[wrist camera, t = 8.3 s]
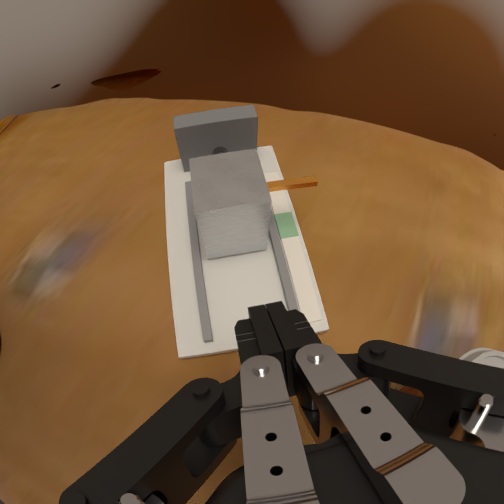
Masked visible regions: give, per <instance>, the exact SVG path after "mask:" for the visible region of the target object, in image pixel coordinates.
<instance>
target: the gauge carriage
mask: <svg viewBox="0 0 504 504" xmlns="http://www.w3.org/2000/svg"><path fill="white" fill-rule="evenodd" d="M212 153H213V155H208V156H202V157H196V158H190V159H189V165H190V176H191V187H192V197H193V207H194V214H195V218H196V222H197V225H198V229H199V232H200V236H201V240H202V243H203V247H204V250H205V253H206V257H207V259H213V258H219V257H225V256H230V255H236V254H242V253H248V252H254V251H260V250H266V249H267V244H268V234H269V224H270V214H271V203H272V200H271V196H270V193H269V192H273V191H280V190H288V189H295V188H303V187H311V186H317V183H318V181H317V178H316V176H310V177H302V178H293V179H285V180H277V181H270V182H266V179H265V176H264V173H263V169H262V166H261V163H260V159H259V156H258V153H257V150H256V149H249V150H241V151H234V152H227V150H226V148H225V147H216V148H215V149H214V150H213V152H212Z"/></svg>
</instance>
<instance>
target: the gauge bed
mask: <svg viewBox="0 0 504 504" xmlns="http://www.w3.org/2000/svg"><path fill="white" fill-rule="evenodd" d="M257 128H258V116H257V113H256V111H255V108H254V105H248V106H239V107H231V108H223V109H216V110H209V111H203V112H196V113H191V114H185V115H179V116H174V132H175V136H176V140H177V145H178V149H179V153H180V157H181V159H178V160H173V161H168V162H164V166H165V210H166V232H167V248H168V263H169V275H170V287H171V298H172V307H173V317H174V325H175V333H176V341H177V349H178V356H179V358H181V359H186V358H193V357H200V356H207V355H213V354H220V353H226V352H232V351H237V350H238V346H237V340H236V335H235V330H234V327H235V325H236V323H237V321H238V320H243V319H249V315H248V307H252V306H257V305H263V304H264V305H265V304H267V303H273V302H278V301H282V302H283V304H284V306H285V308H286V310H287V311H289V310H294V309H296V310H298V311H300V312H301V313H303V314H304V315H305V317H306V318H307V320H308V322H309V323H310V325H311V327H312V328H313V330H314V331H315V333H316V334H319V333H323V332H327V331H328V330H329V326H328V323H327V319H326V315H325V312H324V308H323V304H322V301H321V297H320V294H319V290H318V287H317V283H316V280H315V277H314V273H313V270H312V266H311V263H310V260H309V256H308V253H307V250H306V247H305V243H304V240H303V237H302V234H301V231H300V228H299V224H298V221H297V218H296V215H295V212H294V209H293V206H292V203H291V200H290V197H289V194H288V191H287V190H280V191H273V192H269V193H270V196H271V200H272V203H271V214H270V224H269V234H268V244H267V249H266V250H260V251H254V252H248V253H242V254H236V255H230V256H225V257H219V258H213V259H207V257H206V253H205V250H204V247H203V243H202V240H201V236H200V232H199V229H198V225H197V222H196V218H195V214H194V207H193V197H192V187H191V176H190V165H189V159H190V158H196V157H202V156H208V155H213V153H212V152H213V150H214V149H215V148H216V147H225V148H226V150H227V152H234V151H241V150H249V149H256V150H257V153H258V156H259V159H260V163H261V166H262V169H263V173H264V176H265V179H266V182H270V181H277V180H284V179H283V176H282V173H281V170H280V168H279V165H278V162H277V159H276V156H275V153H274V151H273V148H272V146H264V147H257Z"/></svg>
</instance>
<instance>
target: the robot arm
mask: <svg viewBox="0 0 504 504" xmlns="http://www.w3.org/2000/svg"><path fill="white" fill-rule="evenodd" d="M248 315H249V319H243V320H238V321H237V323H236V325H235V327H234V330H235V335H236V340H237V346H238V351H239V356H240V361H241V367H240V371H239V373H238V374H237V375H236V376H235V377H234V378H232V379H230V380H228V381H226V382H224V383H221V384H220V383H219V382H218V381H216V380H214V379H211V378H199V379H195V380H193V381H191V382H189V383H187V384H186V385H185V386H184V387H183V388H182V389H181V390H180V391H179V392H177V393H176V394H175V395H174V396H173V397H172V398H171V399H170V400H169V401H168V402H167V403H166V404H165V405H163V406H162V407H161V408H160V409H159V410H158V411H157V412H156V413H155V414H154V415H153V416H151V417H150V418H149V419H148V420H147V421H146V422H145V423H144V424H143V425H141V426H140V427H139V428H138V429H137V430H136V431H135V432H134V433H132V434H131V435H130V436H129V437H128V438H127V439H126V440H124V441H123V442H122V443H121V444H120V445H119V446H117V447H116V448H115V449H114V450H113V451H112V452H111V453H109V454H108V455H107V456H106V457H105V458H103V459H102V460H101V461H100V462H99V463H97V464H96V465H95V466H94V467H93V468H91V469H90V470H89V471H88V472H87V473H85V474H84V475H83V476H82V477H80V478H79V479H78V480H77V481H76V482H74V483H73V484H72V485H71V486H69V487H68V488H67V489H66V490H65V491H64V492H63V493H62V495H61V496H60V499H59V504H186V503H187V501H188V500H189V499H190V498H191V497H192V496H193V495H194V494H195V493H196V491H197V490H198V489H199V488H200V487H201V486H202V485H203V483H204V482H205V481H206V480H207V479H208V478H209V476H210V475H211V474H212V473H213V472H214V470H215V469H216V468H217V467H218V466H219V464H220V463H221V462H222V461H223V459H224V458H225V457H226V456H227V454H228V453H229V452H230V451H231V449H232V448H233V447H234V445H235V444H236V441H237V439H238V438H240V437H242V443H243V457H244V465H243V466H241V467H240V468H238V469H236V470H235V471H233V472H232V473H231V474H230V475H228V476H227V477H226V478H225V479H224V480H223V481H222V482H221V484H220V485H219V486H218V487H217V489H216V490H215V491H214V493H213V494H212V495H211V497H210V498H209V499H208V500H207V502H206V503H205V504H504V368H499V367H494V366H489V365H484V364H479V363H475V362H470V361H465V360H461V359H456V358H452V357H448V356H443V355H439V354H435V353H431V352H427V351H423V350H419V349H415V348H411V347H407V346H403V345H399V344H395V343H391V342H387V341H383V340H372V341H368V342H366V343H364V344H362V345H361V346H360V348H359V350H358V353H356V354H337V353H336V352H335V351H334V350H333V349H332V348H331V347H330V346H328V345H325V344H322V343H321V341H320V339H319V338H318V336H317V335H316V333H315V331H314V330H313V328H312V327H311V325H310V323H309V322H308V320H307V318H306V317H305V315H304V314H303V313H301V312H300V311H298V310H296V309H294V310H289V311H287V310H286V308H285V306H284V304H283V302H282V301H278V302H273V303H267V304H265V305H264V304H263V305H257V306H252V307H248ZM391 382H394V383H398V384H401V385H404V386H408V387H411V388H415V389H418V390H420V391H421V392H422V393H423V395H424V396H423V397H419V396H416V395H412V394H409V393H405V392H402V391H399V390H395V389H392V388H390V385H391ZM288 395H289V396H288ZM295 395H296V396H297V398H298V403H299V411H300V413H301V415H302V417H303V419H304V421H305V423H306V425H307V427H308V429H309V431H310V433H311V435H312V437H313V438H314V440H315V442H316V444H311V445H303V443H302V439H301V435H300V431H299V427H298V423H297V419H296V415H295V411H294V407H293V404H292V401H290V400H289V397H291V396H295Z"/></svg>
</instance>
